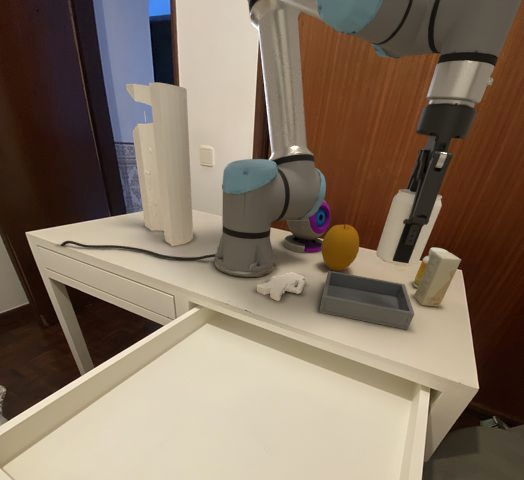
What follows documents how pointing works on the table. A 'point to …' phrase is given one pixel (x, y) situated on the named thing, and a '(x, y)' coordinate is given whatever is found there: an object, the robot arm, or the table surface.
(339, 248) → the apple
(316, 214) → the webcam
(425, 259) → the supplement bottle
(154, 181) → the white tall block
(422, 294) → the box
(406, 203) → the beverage can
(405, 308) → the tray
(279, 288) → the white abstract figurine
